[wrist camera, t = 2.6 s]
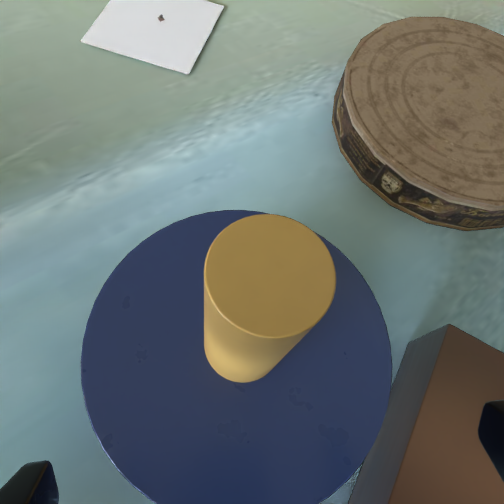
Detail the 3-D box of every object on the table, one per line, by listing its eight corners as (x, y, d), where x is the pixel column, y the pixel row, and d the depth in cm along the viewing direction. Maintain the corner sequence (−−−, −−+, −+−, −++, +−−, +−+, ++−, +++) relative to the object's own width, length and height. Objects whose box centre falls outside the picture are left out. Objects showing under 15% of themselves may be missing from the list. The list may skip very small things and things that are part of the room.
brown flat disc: (395, 23, 33) (412, -14, 30) (577, 125, 30) (614, 94, 28) (287, 138, 27) (296, 104, 24) (505, 279, 24) (543, 259, 21)
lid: (305, 596, 13) (443, 812, 5) (19, 406, 14) (-181, 371, 7) (418, 302, 17) (574, 203, 10) (196, 181, 19) (190, 16, 11)
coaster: (127, -23, 32) (125, -34, 31) (224, 6, 31) (224, -4, 31) (79, 41, 28) (76, 31, 27) (188, 74, 28) (188, 65, 27)
